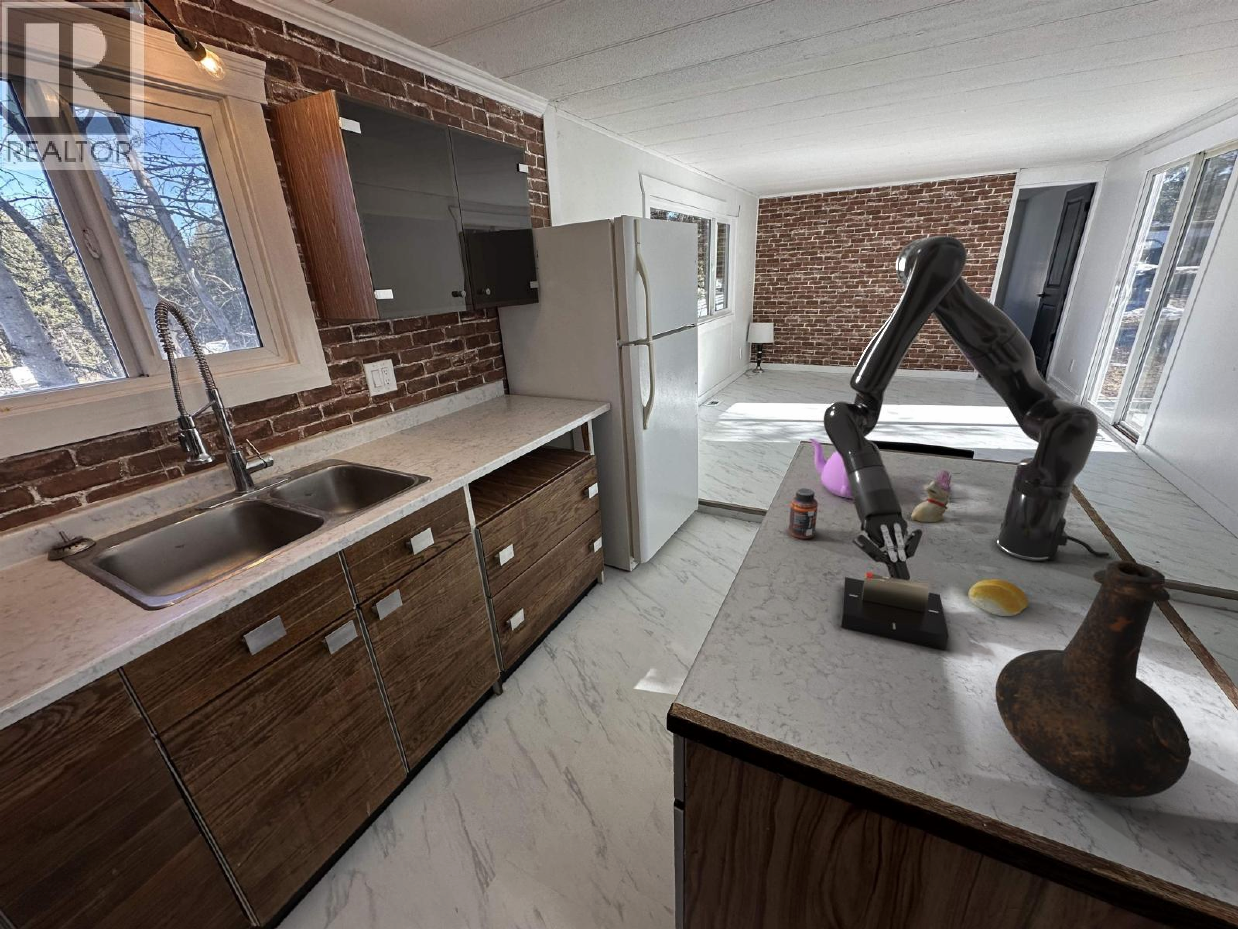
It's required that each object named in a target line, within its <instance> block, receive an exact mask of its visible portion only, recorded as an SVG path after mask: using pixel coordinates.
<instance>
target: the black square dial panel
mask: <svg viewBox="0 0 1238 929" xmlns="http://www.w3.org/2000/svg"><path fill="white" fill-rule="evenodd" d="M843 583H844V584H843V591H842V608H841V624H840V628H841V629H846V630H850V631H855V632H859V633H860V632H861V633H862V634H863V633H864V634H867V635H874V636H877V637H882V638H885V639H886V638H887V639H891V640H895V641H900V642H903V643H908V644H913V645H918V646H923V647H926V648H931V649H936V650H940V651H944V652H945V651H946V650H947V647H948V642H949V638H950V635H949V631H948V626H947V622H946V617H945V612H944V608H943V602H942V599H941V598H942V597H941V594H940V593H934V592H929V595H928V600H927V604H926V609H925V613H924V612H919V611H914V610H909V609H904V608H899V607H894V606H889V605H884V604H879V603H874V602H868V601H863V600H862V591H863V584H864V579H857V578H851V577H847V576H845V577H844V582H843Z"/></svg>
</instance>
